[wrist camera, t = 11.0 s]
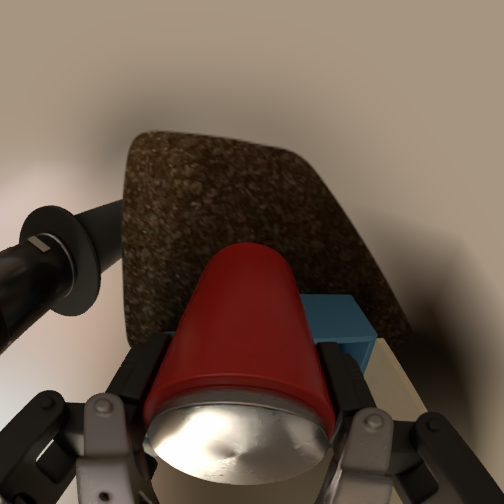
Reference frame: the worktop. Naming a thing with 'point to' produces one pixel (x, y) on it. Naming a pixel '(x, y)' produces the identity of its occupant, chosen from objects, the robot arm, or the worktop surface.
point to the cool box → (340, 325)
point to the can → (241, 377)
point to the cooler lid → (392, 390)
